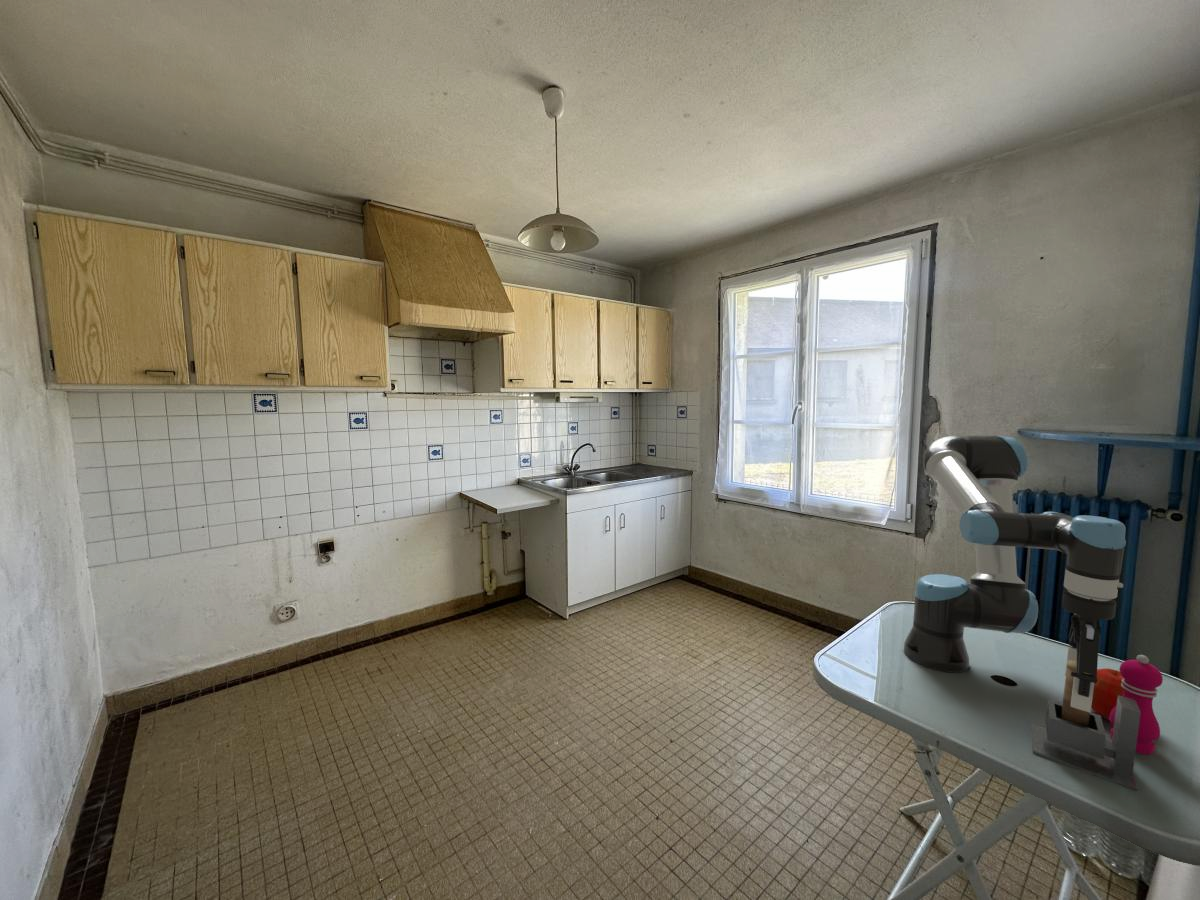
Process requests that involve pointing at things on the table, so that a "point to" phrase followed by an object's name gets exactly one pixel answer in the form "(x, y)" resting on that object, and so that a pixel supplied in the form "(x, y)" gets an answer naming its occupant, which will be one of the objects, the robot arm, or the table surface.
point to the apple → (1106, 691)
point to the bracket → (1092, 742)
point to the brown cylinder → (1068, 711)
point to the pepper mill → (1141, 699)
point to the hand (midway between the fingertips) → (1076, 692)
